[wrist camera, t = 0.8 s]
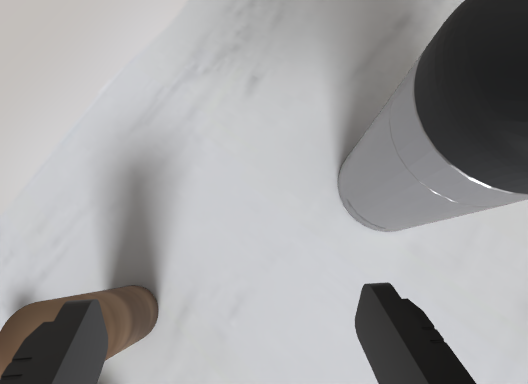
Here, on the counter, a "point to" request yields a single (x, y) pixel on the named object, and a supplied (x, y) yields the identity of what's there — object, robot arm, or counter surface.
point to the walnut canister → (114, 313)
